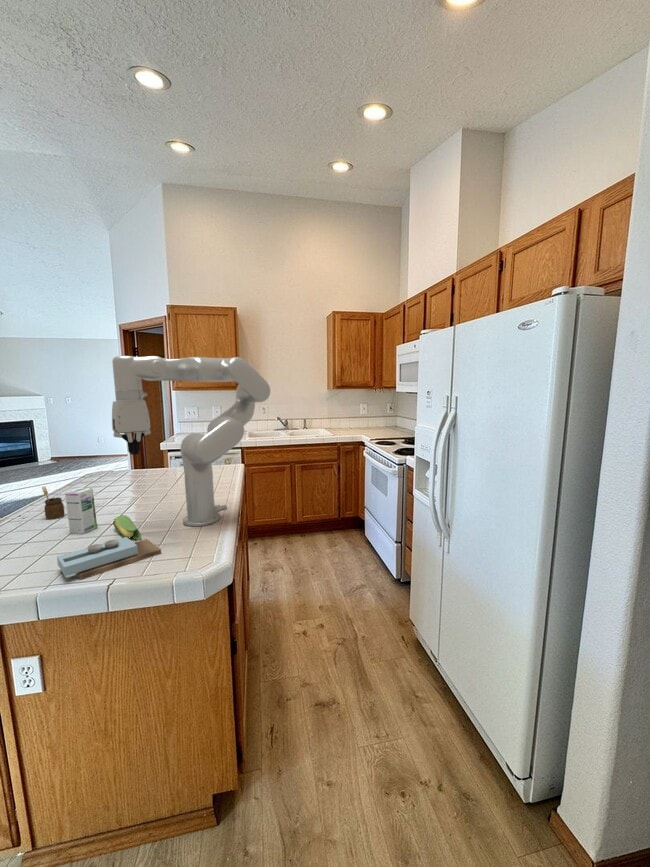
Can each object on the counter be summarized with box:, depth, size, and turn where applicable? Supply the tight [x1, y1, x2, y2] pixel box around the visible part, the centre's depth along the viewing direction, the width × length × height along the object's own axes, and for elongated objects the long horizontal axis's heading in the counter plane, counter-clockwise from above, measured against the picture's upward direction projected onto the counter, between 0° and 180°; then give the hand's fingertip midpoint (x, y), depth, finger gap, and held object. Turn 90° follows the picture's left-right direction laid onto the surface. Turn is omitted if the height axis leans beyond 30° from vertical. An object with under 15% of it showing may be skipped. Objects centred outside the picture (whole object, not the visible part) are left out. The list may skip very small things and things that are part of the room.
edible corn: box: [112, 514, 142, 541], centre depth 122 cm, size 5×20×5 cm
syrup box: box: [64, 487, 98, 535], centre depth 125 cm, size 6×6×14 cm
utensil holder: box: [41, 486, 65, 520], centre depth 140 cm, size 6×6×12 cm
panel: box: [56, 537, 138, 577], centre depth 100 cm, size 17×9×2 cm, turn 135°
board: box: [75, 538, 162, 580], centre depth 103 cm, size 20×11×5 cm, turn 135°
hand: (134, 454), depth 117 cm, fingers closed
